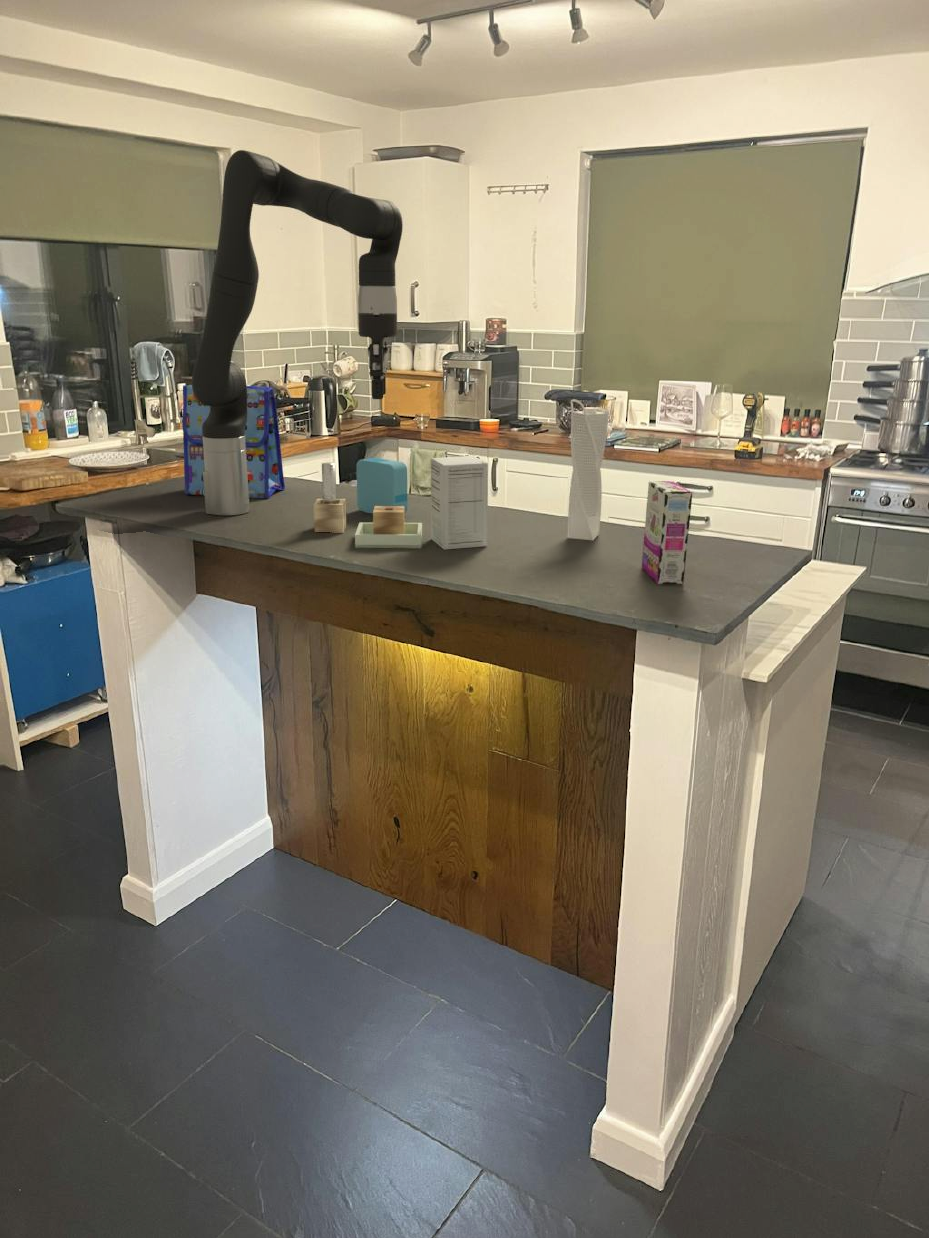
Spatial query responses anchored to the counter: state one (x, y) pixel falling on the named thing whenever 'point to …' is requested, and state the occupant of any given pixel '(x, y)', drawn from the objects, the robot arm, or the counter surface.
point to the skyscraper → (586, 471)
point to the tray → (388, 537)
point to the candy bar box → (666, 532)
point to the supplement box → (459, 502)
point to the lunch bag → (258, 441)
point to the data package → (381, 484)
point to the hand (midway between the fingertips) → (379, 396)
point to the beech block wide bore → (330, 516)
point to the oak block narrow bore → (388, 520)
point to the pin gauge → (329, 483)
